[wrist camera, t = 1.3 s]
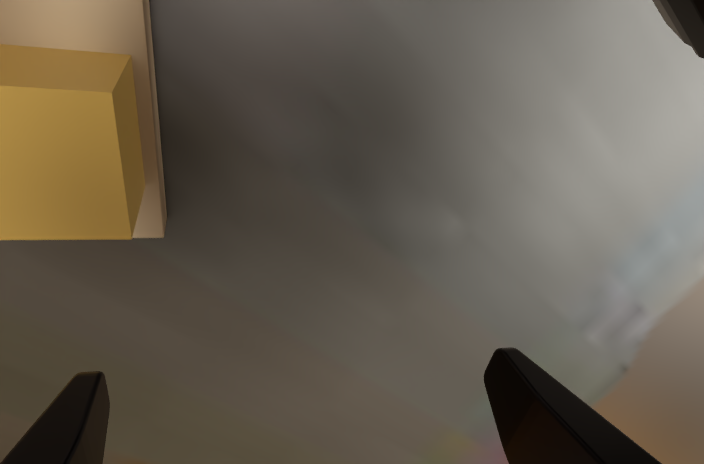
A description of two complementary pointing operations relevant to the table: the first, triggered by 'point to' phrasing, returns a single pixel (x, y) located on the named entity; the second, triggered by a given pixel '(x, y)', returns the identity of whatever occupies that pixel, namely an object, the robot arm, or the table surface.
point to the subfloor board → (107, 37)
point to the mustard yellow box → (68, 145)
